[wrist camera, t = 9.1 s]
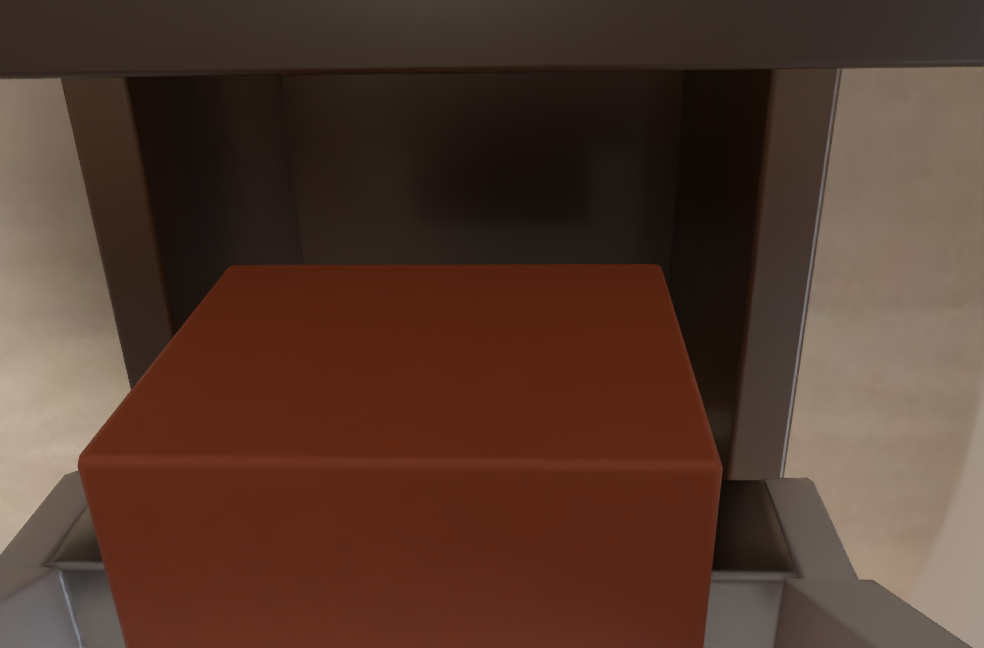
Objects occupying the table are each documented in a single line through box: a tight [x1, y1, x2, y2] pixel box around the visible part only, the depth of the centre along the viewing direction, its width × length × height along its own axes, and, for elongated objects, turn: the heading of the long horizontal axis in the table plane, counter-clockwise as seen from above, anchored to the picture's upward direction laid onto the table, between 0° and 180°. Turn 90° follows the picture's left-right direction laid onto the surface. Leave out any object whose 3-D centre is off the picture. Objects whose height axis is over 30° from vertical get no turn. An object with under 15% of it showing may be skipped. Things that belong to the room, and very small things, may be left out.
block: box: [78, 264, 723, 648], centre depth 10 cm, size 5×5×4 cm
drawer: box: [61, 68, 842, 480], centre depth 17 cm, size 18×10×8 cm, turn 1°
